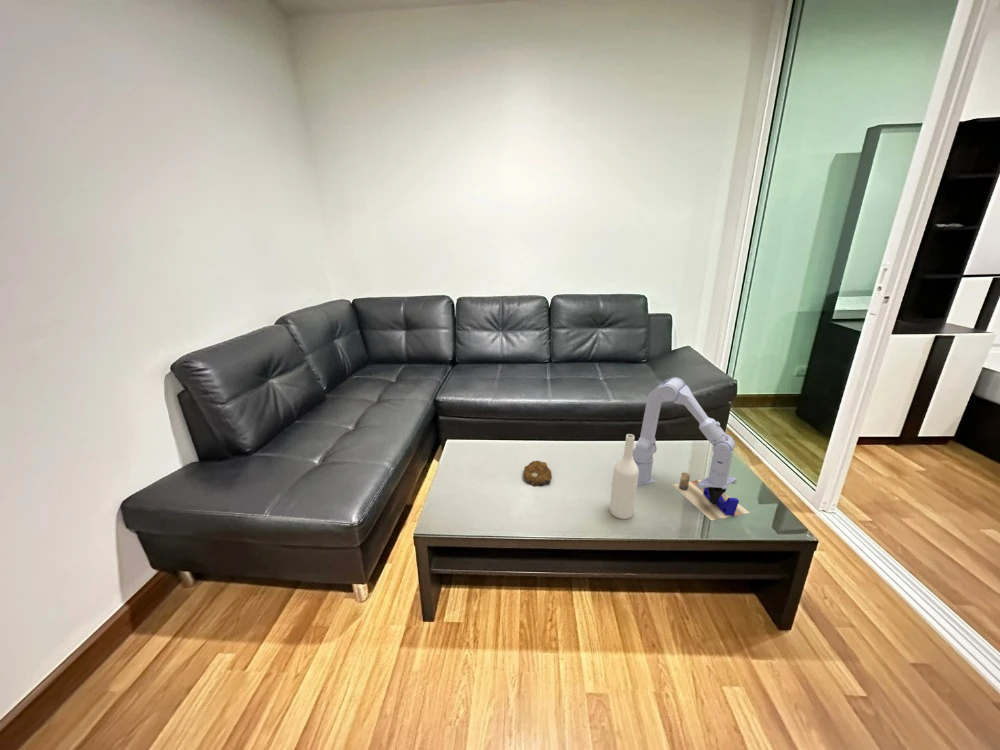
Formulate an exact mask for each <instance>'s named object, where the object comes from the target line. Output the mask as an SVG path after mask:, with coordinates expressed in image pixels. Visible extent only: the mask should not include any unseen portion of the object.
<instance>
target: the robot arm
mask: <svg viewBox="0 0 1000 750" xmlns="http://www.w3.org/2000/svg"><path fill="white" fill-rule="evenodd" d="M672 401H674V404H677V405H682V406H684V407H685V408H686V410H688V412H689V413H690V414H691V415H692V416H693V418H695V420H696V421H697V422H698V423H699V424H698V425H699V426H698V429H699V430H700V431H701V433H702V434H703V435H704V437H705V438H706V439H707V441H708V442H709V443H710V444H711V445H712V450H711V451H712V452H713V455H712V458H711V462H710V467H709V473H708V476H707V477H706V478H704V480H702V479H701V480H702V481H700V482H698V483H697V487H698V488H699V489H700V490H703V488H708V491H709V495H710V502H711V503H712V504H714V505H715V504H716V503H717V501H718V499H719V498H720V496H721V495H722V494H723V493H726V491H727V489H728V487H729V485H731V484H732V485H736V484H737V478H735V477H734V476H729V474H730V469H731V464H732V459H733V452H734V450H735V449H736V446H737V445H736V441H735V439H734V438H733V437H732V436H731V435H729V434H727V433H725V431H724V430H723V428H722V427H721V426H720V425H721V423H720V422H719V421H716V419H714V418H711V417H709V416H708V415H707V413H706V412H705V410H704V409H703V408H702V406H701V405H700V404H699V403H700V402H698V401H697V399H696V398H695V396H694V395H693V393H692V391H691V389H690V387H689V386H688V385H687V384H685V381H684V380H683V379H682V378H680V377H671V378H668V379H666V380H664V381H663V382H662V383H660V384H659V385H658V386H657V387H656V388H654V389H653V390H652V391H651V392H649V394H648V395H647V398H646V403H645V404H646V405H645V409H644V414H643V419H642V426H641V431H640V437H639V438H638V440H637V442H636V444H635V448H633V455H632V457H633V460H634V461H635V463H636V465H637V467H638V469H639V475H638V483H637V486H639V485H640V486H641V485H647V484H653V483H655V482H656V480H655V479H654V478H653V477H652V470H653V464H654V457H653V455H654V454H655V453H656V452H657V444H656V441H657V440H656V432H657V427H658V422H659V418H660V412H661V407H662V403H665V402H672Z"/></svg>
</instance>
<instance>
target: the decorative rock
mask: <svg viewBox="0 0 1000 750" xmlns="http://www.w3.org/2000/svg"><path fill="white" fill-rule="evenodd" d="M523 474H524V475H523V477H524V478H525V481H526V482H527V483H528V484H531V485H532V487H536V486H538V487H540V486H541V485H546V483H547V482H552V480H553V479H552V478H553V476H552V471H551V468H549V467H548V464H547V462H545V461H540V460H533V461H531V462H530V463H528V464H527V465H525V466H524V469H523Z"/></svg>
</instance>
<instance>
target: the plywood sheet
mask: <svg viewBox="0 0 1000 750" xmlns="http://www.w3.org/2000/svg"><path fill="white" fill-rule="evenodd" d="M704 479H705V478H704ZM704 479H698V480H697V479H696V480H691V481H690V480H689V485H688V490H681V489H680V488H679V485H680V482H679V483H673V484H671V486H672V487H673V488H675V489H676V490H677V491H678V492H679V493H680V494H681V495H682V496H683V497H685V499H687V500H688V502H689V503H691V504H693V506H694V507H695V508H697V509H698V510H699V511H700V512H701V513H703V515H705V516H706V518H707V519H709V520H710V521H716V520H722V519H727V518H731V517H737V516H742V515H746V514H750V513H751V512H750V511H748V509H746V508H745V507H743V506H742V505H741V504H739V503H738V505H737V508H736V511H735V514H734V515H725V514H724V513H723V511H722V510H721V509H720V508H719V507H718V506H717V505H716V504H715V505H714V504H712V503H711V502H710V501H709V500H708V498H707V497H706V496H705V495H704V494H703V492H704V489H705V488H703V490H700V489H699V488H698V487H697V483H698V482H700V481H702V480H704ZM722 497H723V499H724V500H725V501H727V499H728V498H732V497H731V496H729V495H728V494H727V493H726V492H724V493H723V494H722Z"/></svg>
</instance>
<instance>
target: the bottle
mask: <svg viewBox="0 0 1000 750" xmlns="http://www.w3.org/2000/svg"><path fill="white" fill-rule="evenodd" d="M624 443H625V444H624V450H623V455H622V457H621V458H620V459H619V460H618V461H617V462H616V463H615V464H614V466H613V473H612V482H611V492H610V501H609V512H610V513H611V515H612V516H614V517H615V518H617V519H621V520H628V519H630V518H632V517H633V515H634V511H635V505H636V504H635V503H636V499H637V498H636V497H637V488H638V485H637V483H638V475H639V469H638V467H637V465H636V463H635V461H634V460H633V456H632V455H633V450H634V444H635V435H634V434H631V433H627V434H626V436H625V442H624Z"/></svg>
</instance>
